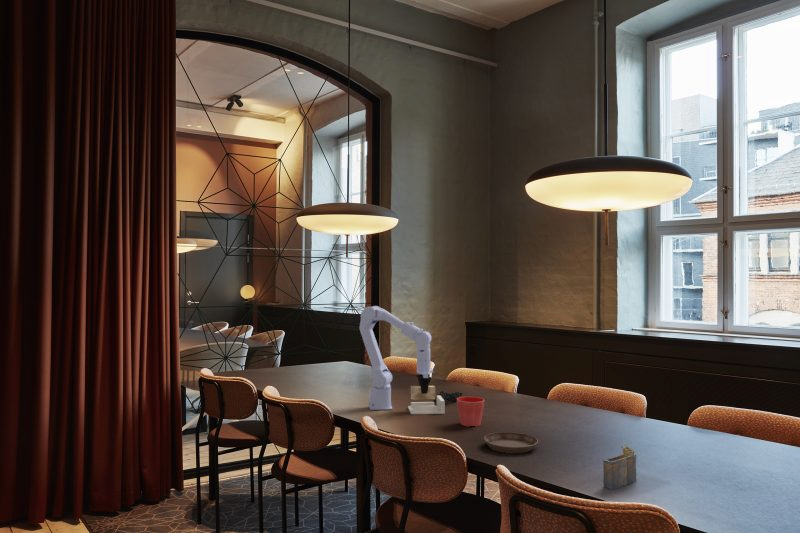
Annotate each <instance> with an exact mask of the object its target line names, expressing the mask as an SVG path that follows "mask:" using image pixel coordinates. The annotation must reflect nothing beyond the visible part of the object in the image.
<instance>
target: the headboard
mask: <svg viewBox="0 0 800 533" xmlns="http://www.w3.org/2000/svg"><path fill="white" fill-rule="evenodd" d="M436 395H437V394H436ZM436 401H437V403H436V404H437V405H434V402H433V401H417V402H416V401H413V402H410V405H408V406H407V408H408V411H409V413H410V414H411V415H438V414H439V415H440V414H441V415H442V414H446V410H445V409H446V405H445V404H446V402H445V401H444V399H443V398H442V397H441V396H440V395H437V399H436Z"/></svg>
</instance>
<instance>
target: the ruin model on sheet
mask: <svg viewBox="0 0 800 533" xmlns="http://www.w3.org/2000/svg"><path fill="white" fill-rule="evenodd" d="M621 448H622V454H620V455H616V456H613V457H608V460H606V459H602V460H603V470H602V471H603V474H602V475H603V488H605V487H606V488H607V489H608V490H614V488H615V489H618V488H620V486H621V487H624V486H626V485H629V484H631V482H632V483H635V482H637V454H635V450H633V449H631V448H630V447H629V446H627V445H626V444H625V446H621ZM634 481H635V482H634ZM623 485H624V486H623ZM617 487H618V488H617Z"/></svg>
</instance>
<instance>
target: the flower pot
mask: <svg viewBox="0 0 800 533" xmlns="http://www.w3.org/2000/svg"><path fill="white" fill-rule="evenodd" d="M456 399H457V401H456V404H457V412H458V418H459V423H460V425H461V426H462V427H463V426H464V427H470V426H475V427H479V426H481V424H482V418H483V413H484V407H485V399H484V398H483V397H478V396H460V397H459V398H456Z"/></svg>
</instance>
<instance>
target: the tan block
mask: <svg viewBox="0 0 800 533" xmlns="http://www.w3.org/2000/svg"><path fill="white" fill-rule="evenodd" d="M435 398H436V386H435V385H429V386H428V391H427V394H422V392H421V386H419V385H410V399H411V400H412V401H414V400H419V401H420V400H434V399H435Z"/></svg>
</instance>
